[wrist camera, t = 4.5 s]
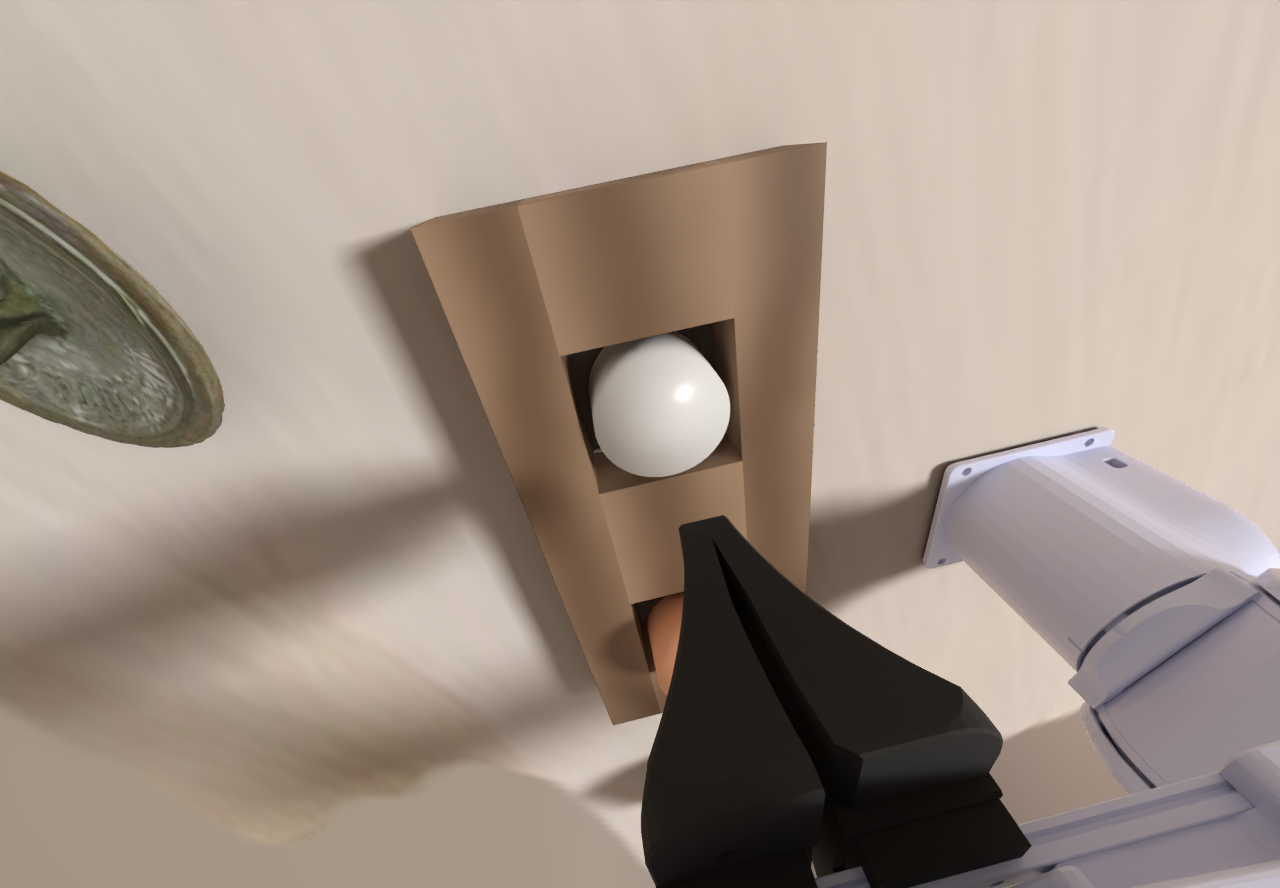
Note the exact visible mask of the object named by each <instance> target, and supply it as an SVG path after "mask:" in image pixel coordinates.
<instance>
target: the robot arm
mask: <svg viewBox="0 0 1280 888" xmlns="http://www.w3.org/2000/svg"><path fill="white" fill-rule="evenodd" d="M1114 436H1115V431H1113V430H1111V429H1109V428H1107V427H1104V428H1100V429H1095V430H1091V431H1087V432H1083V433H1078V434H1074V435H1070V436H1066V437H1062V438H1057V439H1053V440H1049V441H1045V442H1041V443H1036V444H1032V445H1028V446H1024V447H1020V448H1015V449H1011V450H1007V451H1003V452H998V453H994V454H990V455H986V456H982V457H977V458H973V459H969V460H965V461H961V462H956V463H953V464H951V465H949V466H948V467H947V468H946V470H945V472H944V476H943V480H942V484H941V488H940V493H939V497H938V501H937V505H936V509H935V513H934V517H933V521H932V525H931V529H930V533H929V537H928V541H927V546H926V550H925V554H924V558H923V564H924V565H925V566H926V567H927V568H936V567H940V566H944V565H948V564H952V563H956V562H960V561H964V562H965V563H966V564H967V565H969V566H970V567H971V568H972V569H973V570H974V571H975V572H976V573H977V574H978V575H979V576H980V577H981V578H982V579H983V580H984V581H985V582H986V583H987V584H988V585H989V586H990V587H991V588H992V589H993V590H994V591H995V592H996V593H997V594H998V595H999V596H1000V597H1001V598H1002V599H1003V600H1004V601H1005V602H1006V603H1007V604H1008V605H1009V606H1010V607H1011V608H1012V609H1013V610H1014V611H1015V612H1016V613H1017V614H1018V615H1019V616H1021V617H1022V618H1023V619H1024V620H1025V621H1026V622H1027V623H1028V624H1029V625H1030V626H1031V627H1032V628H1033V629H1034V630H1035V631H1036V632H1037V633H1038V634H1039V635H1040V636H1041V637H1042V638H1043V639H1044V640H1045V641H1046V642H1047V643H1048V644H1049V645H1050V646H1051V647H1052V648H1053V649H1054V650H1055V651H1056V652H1057V653H1058V654H1059V655H1060V656H1061V657H1062V658H1063V659H1064V660H1065V661H1066V662H1067V663H1068V664H1069V665H1070V666H1072V667H1073V668H1074V669H1075V670H1076V671H1077V674H1076V675H1075V676H1074V677H1072V678H1071V679H1070V680H1069V681H1068V684H1069V685H1070V686H1071V687H1072V688H1073V689H1074V690H1075V691H1076V692H1077V693H1078V694H1079V695H1080V696H1081V697H1082V698H1083V699H1084V700H1085V701H1086V702H1085V703H1083V705H1082V707H1081V710H1080V712H1081V719H1082V722H1083V724H1084V727H1085V730H1086V732H1087V735H1088V738H1089V740H1090V742H1091V745H1092V746H1093V748H1094V750H1095V752H1096V753H1097V755H1098V756H1099V758H1100V759H1101V761H1102V762H1103V764H1104V765H1105V766H1106V768H1107V769H1108V770H1109V772H1110V773H1111V774H1112V775H1113V776H1114V778H1115V779H1116V780H1117V781H1118V782H1119V783H1120V784H1121V786H1122V787H1123V788H1124V789H1125V790H1126V791H1127V792H1128V793H1129V794H1130V795H1127V796H1123V797H1119V798H1116V799H1112V800H1108V801H1104V802H1101V803H1097V804H1093V805H1089V806H1085V807H1082V808H1078V809H1074V810H1070V811H1067V812H1063V813H1059V814H1055V815H1052V816H1048V817H1044V818H1040V819H1036V820H1033V821H1029V822H1025V823H1022V824H1018V825H1017V824H1016V822H1015V821H1014V819H1013V818H1012V816H1011V815H1010V813H1009V812H1008V811H1007V809H1006V808H1005V806H1004V805H1003V803H1002V802H1001V800H1000V799H999V798H1001V797H1002V796H1003V794H1002V792H1001V789H1000V788H999V786H998V785H997V784H996V782H995V781H994V779H993V778H992V776H991V775H990V774H989V771H990V769H991V768H992V766H993V764H994V762H995V761H996V759H997V757H998V756H999V754H1000V751H1001V748H1002V744H1003V739H1002V736H1001V734H1000V732H999V731H998V730H997V728H996V727H995V726H994V725H993V723H992V722H991V721H990V719H989V718H988V717H987V716H986V714H985V713H984V712H983V711H982V710H981V709H980V708H979V706H978V705H977V704H976V703H975V702H974V701H973V700H972V699H971V698H970V697H969V696H968V695H967V694H966V693H965V691H964V690H963V689H962V688H961V687H959V686H957V685H955V684H953V683H951V682H949V681H947V680H945V679H943V678H941V677H939V676H937V675H935V674H933V673H931V672H929V671H927V670H925V669H923V668H921V667H919V666H917V665H915V664H913V663H911V662H909V661H908V660H906V659H904V658H902V657H900V656H899V655H897V654H895V653H893V652H891V651H890V650H888V649H886V648H884V647H883V646H881V645H880V644H878V643H876V642H875V641H873V640H871V639H870V638H868V637H867V636H865V635H863V634H862V633H860V632H858V631H857V630H855V629H854V628H852V627H850V626H849V625H847V624H846V623H844V622H843V621H842V620H840V619H839V618H837V617H836V616H834V615H833V614H831V613H830V612H829V611H827V610H826V609H825V608H823V607H822V606H820V605H819V604H818V603H816V602H815V601H814V600H812V599H811V598H810V597H809V596H807V595H806V594H805V593H804V592H802V591H801V590H800V589H799V588H797V587H796V586H795V585H794V584H793V583H792V582H790V581H789V580H788V579H787V578H786V577H785V576H783V575H782V574H781V573H780V572H779V571H778V570H777V569H776V568H775V567H774V566H772V565H771V564H770V563H769V562H768V561H767V560H766V559H765V558H764V557H763V556H762V555H761V554H760V553H759V552H758V551H757V550H756V549H755V548H754V547H753V546H752V545H751V544H750V543H749V542H748V541H747V540H746V539H745V538H744V537H743V535H742V534H741V533H740V532H739V531H738V530H737V529H736V528H735V526H734V525H733V524H732V523H731V522H730V520H729V519H728V518H727V517H726V516H724V515H721V516H717V517H712V518H708V519H704V520H699V521H695V522H691V523H686V524H682V525H681V526H680V527H679V528H678V529H679V535H680V542H681V548H682V554H683V560H684V597H683V610H682V620H681V628H680V635H679V642H678V648H677V653H676V659H675V664H674V669H673V674H672V679H671V683H670V687H669V691H668V695H667V699H666V703H665V706H664V710H663V714H662V718H661V721H660V725H659V728H658V731H657V734H656V737H655V740H654V744H653V747H652V750H651V753H650V756H649V759H648V764H647V773H646V779H645V786H644V793H643V801H642V811H641V834H642V842H643V849H644V856H645V863H646V866H647V868H648V870H649V872H650V874H651V876H652V879H653V881H654V883H655V885H656V888H1002V887H1006V886H1010V885H1013V884H1017V883H1020V884H1018V885H1016V886H1013V887H1011V888H1280V555H1279V553H1278V551H1277V549H1276V548H1275V546H1274V545H1273V543H1272V542H1271V541H1270V539H1269V538H1268V537H1267V536H1266V535H1265V534H1264V532H1263V531H1262V530H1261V529H1260V528H1259V527H1258V526H1256V525H1255V524H1254V523H1253V522H1252V521H1251V520H1250V519H1248V518H1247V517H1245V516H1244V515H1243V514H1241V513H1240V512H1238V511H1236V510H1235V509H1233V508H1231V507H1229V506H1228V505H1226V504H1224V503H1222V502H1220V501H1218V500H1216V499H1214V498H1212V497H1210V496H1208V495H1206V494H1204V493H1202V492H1200V491H1198V490H1196V489H1194V488H1192V487H1191V486H1189V485H1187V484H1185V483H1183V482H1181V481H1179V480H1177V479H1175V478H1173V477H1171V476H1169V475H1167V474H1165V473H1163V472H1161V471H1159V470H1157V469H1155V468H1153V467H1151V466H1149V465H1148V464H1146V463H1144V462H1142V461H1140V460H1138V459H1136V458H1134V457H1132V456H1130V455H1128V454H1126V453H1124V452H1122V451H1120V450H1118V449H1116V448H1114V447H1112V446H1110V445H1111V443H1112V441H1113V438H1114ZM812 861H813V864H814V867H815V871H816V875H817V878H814V875H813V872H812V870H811V863H812ZM1021 882H1023V883H1021Z"/></svg>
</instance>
